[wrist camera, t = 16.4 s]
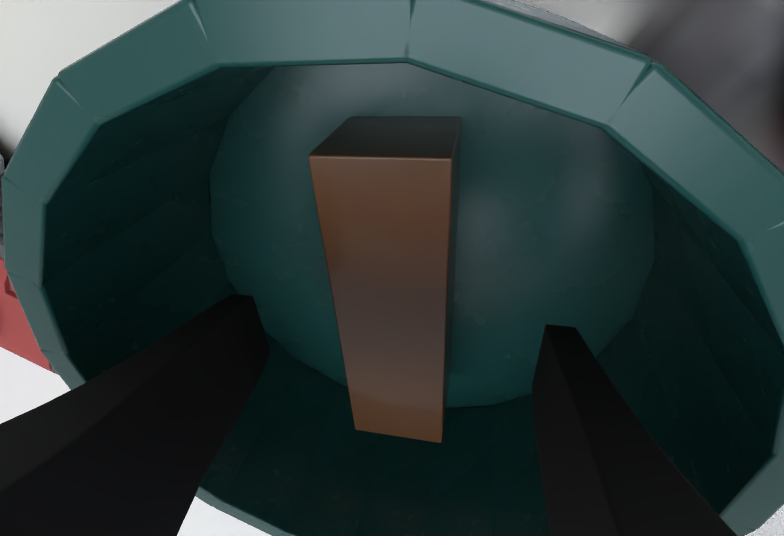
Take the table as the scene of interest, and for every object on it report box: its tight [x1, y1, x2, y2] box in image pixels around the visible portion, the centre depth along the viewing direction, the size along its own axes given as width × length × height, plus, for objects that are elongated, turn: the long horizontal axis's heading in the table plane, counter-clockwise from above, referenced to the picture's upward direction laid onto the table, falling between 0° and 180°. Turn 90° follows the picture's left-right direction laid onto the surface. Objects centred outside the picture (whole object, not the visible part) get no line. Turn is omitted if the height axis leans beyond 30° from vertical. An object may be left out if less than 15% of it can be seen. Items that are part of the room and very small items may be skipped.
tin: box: [1, 0, 784, 536], centre depth 10 cm, size 14×14×6 cm
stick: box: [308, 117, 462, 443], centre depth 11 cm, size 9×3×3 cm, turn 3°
